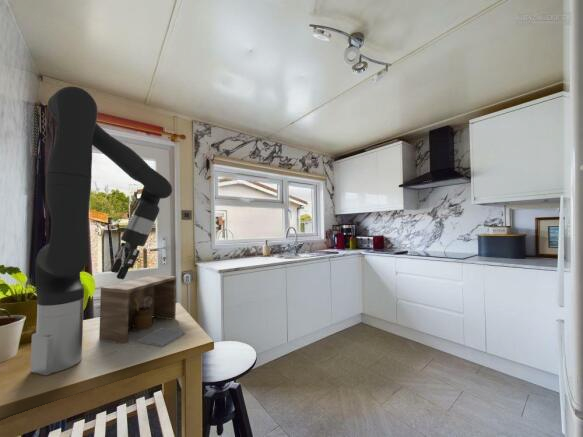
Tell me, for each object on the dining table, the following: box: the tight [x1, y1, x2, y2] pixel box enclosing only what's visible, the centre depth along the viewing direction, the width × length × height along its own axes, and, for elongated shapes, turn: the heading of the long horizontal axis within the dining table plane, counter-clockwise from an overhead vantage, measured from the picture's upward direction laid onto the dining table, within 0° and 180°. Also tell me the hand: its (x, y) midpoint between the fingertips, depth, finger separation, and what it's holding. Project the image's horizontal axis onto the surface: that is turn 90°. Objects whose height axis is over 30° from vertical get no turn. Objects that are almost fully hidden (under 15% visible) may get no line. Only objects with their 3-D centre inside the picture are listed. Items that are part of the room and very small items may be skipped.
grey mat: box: [137, 327, 186, 347], centre depth 82 cm, size 10×10×1 cm
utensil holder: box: [132, 296, 153, 332], centre depth 90 cm, size 6×6×12 cm
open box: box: [98, 274, 177, 345], centre depth 90 cm, size 22×11×17 cm, turn 164°
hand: (116, 275), depth 82 cm, fingers open, 8 cm apart
